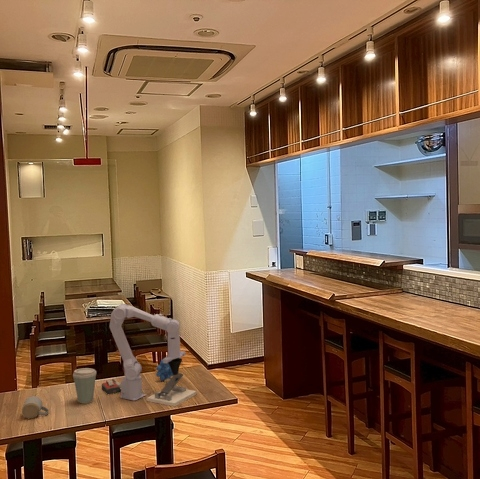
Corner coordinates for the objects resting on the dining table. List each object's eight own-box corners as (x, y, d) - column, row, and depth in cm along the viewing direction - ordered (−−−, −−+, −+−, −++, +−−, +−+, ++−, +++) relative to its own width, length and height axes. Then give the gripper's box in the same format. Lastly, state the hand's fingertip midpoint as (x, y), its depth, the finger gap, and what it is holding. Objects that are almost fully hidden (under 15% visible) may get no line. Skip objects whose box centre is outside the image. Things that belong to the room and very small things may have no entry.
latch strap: (166, 397, 233) (165, 395, 232) (159, 396, 235) (158, 393, 234) (183, 375, 244) (182, 373, 243) (176, 374, 246) (175, 372, 245)
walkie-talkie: (125, 392, 250) (114, 381, 268) (125, 383, 250) (114, 373, 267) (107, 396, 246) (97, 385, 263) (107, 387, 246) (97, 376, 263)
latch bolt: (164, 382, 247) (164, 380, 247) (168, 380, 250) (168, 378, 250) (171, 383, 245) (170, 381, 245) (174, 381, 248) (174, 379, 248)
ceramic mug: (21, 420, 219) (21, 403, 218) (24, 413, 227) (23, 396, 226) (48, 417, 221) (47, 400, 221) (50, 410, 229) (49, 393, 229)
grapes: (175, 376, 272) (174, 353, 272) (179, 379, 266) (178, 356, 265) (154, 379, 267) (153, 356, 267) (157, 383, 261) (156, 360, 261)
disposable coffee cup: (88, 395, 246) (86, 365, 246) (103, 399, 240) (101, 368, 239) (69, 402, 238) (67, 371, 237) (84, 407, 232) (82, 374, 231)
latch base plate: (147, 401, 237) (146, 391, 236) (170, 389, 251) (169, 380, 251) (174, 406, 228) (174, 397, 228) (196, 394, 243) (196, 385, 243)
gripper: (171, 350, 233) (172, 380, 234) (190, 343, 245) (191, 371, 246) (159, 349, 237) (160, 378, 237) (178, 341, 249) (179, 369, 250)
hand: (175, 374), depth 242 cm, fingers closed
